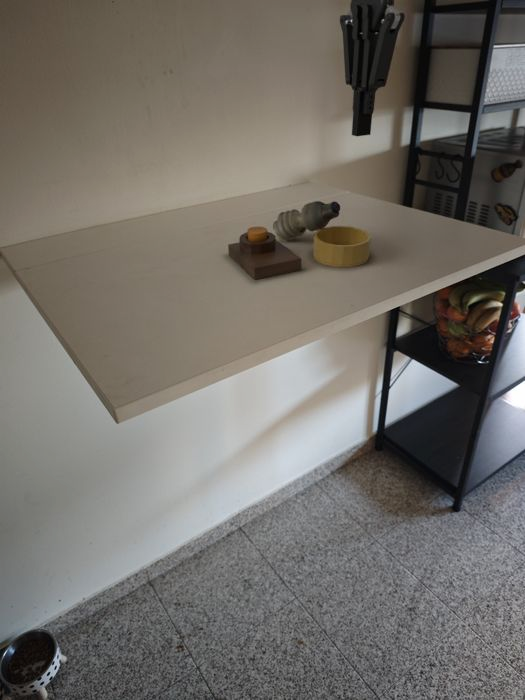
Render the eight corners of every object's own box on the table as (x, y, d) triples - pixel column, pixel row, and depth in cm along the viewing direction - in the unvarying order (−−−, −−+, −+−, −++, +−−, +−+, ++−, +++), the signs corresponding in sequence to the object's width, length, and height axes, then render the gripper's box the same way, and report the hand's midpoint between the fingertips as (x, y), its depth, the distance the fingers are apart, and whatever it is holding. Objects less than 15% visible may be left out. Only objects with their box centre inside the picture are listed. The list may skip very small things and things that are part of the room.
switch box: (301, 269, 88) (301, 248, 86) (254, 280, 85) (254, 258, 83) (271, 247, 97) (271, 227, 95) (228, 255, 94) (227, 235, 92)
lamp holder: (379, 260, 91) (382, 239, 89) (331, 271, 87) (332, 250, 85) (348, 242, 98) (350, 222, 96) (303, 251, 95) (303, 231, 93)
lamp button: (270, 240, 90) (270, 231, 89) (252, 244, 89) (252, 234, 88) (262, 234, 93) (262, 225, 92) (244, 237, 92) (244, 228, 91)
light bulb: (326, 207, 87) (265, 227, 98) (341, 231, 90) (280, 247, 100) (337, 187, 90) (276, 208, 100) (352, 211, 93) (291, 229, 103)
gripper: (327, -42, 73) (320, 131, 86) (382, -53, 63) (365, 143, 76) (369, -40, 76) (356, 127, 89) (428, -51, 66) (404, 138, 79)
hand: (361, 134), depth 83 cm, fingers closed
